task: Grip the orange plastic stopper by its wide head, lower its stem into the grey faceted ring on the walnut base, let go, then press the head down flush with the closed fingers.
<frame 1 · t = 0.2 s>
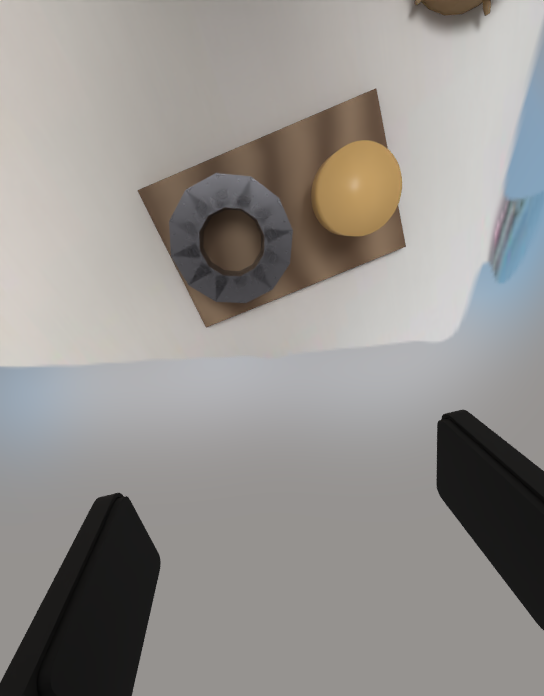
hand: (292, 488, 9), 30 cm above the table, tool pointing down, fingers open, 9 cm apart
mount: (280, 220, 35), on the table
grey faceted ring: (232, 240, 35), resting on mount
cap: (336, 197, 33), point 1 cm above the table, touching mount
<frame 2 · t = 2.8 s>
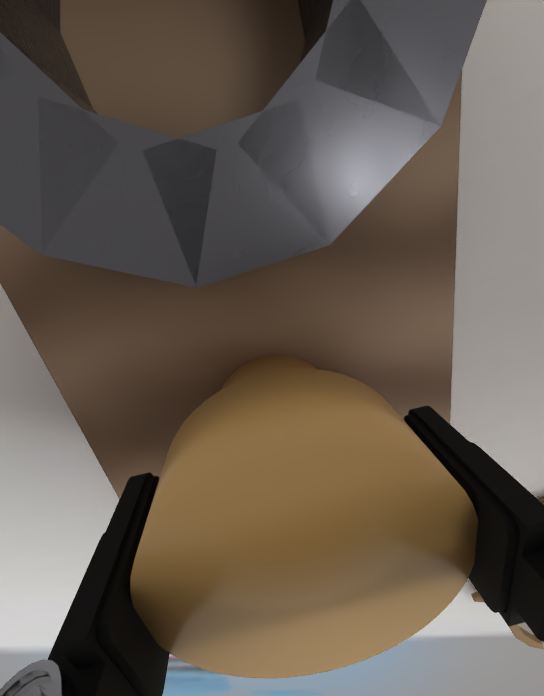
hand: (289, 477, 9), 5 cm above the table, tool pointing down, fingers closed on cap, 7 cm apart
mount: (239, 253, 12), on the table
grey faceted ring: (192, 59, 9), resting on mount
cap: (275, 407, 13), point 1 cm above the table, touching gripper, mount
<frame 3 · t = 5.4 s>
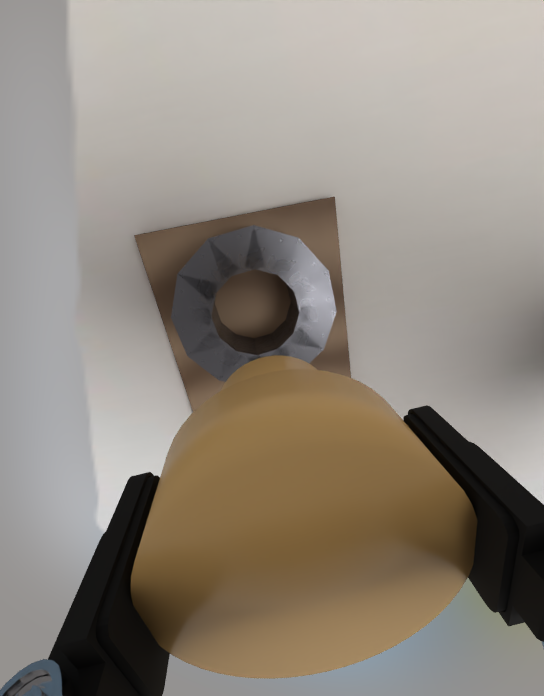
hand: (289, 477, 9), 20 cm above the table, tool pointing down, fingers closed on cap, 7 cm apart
mount: (265, 358, 30), on the table
grey faceted ring: (252, 299, 27), resting on mount
cap: (275, 408, 13), point 16 cm above the table, touching gripper
when the fingers open (6 cm above the table, at t = 7.9 s): cap stays where it is, resting on grey faceted ring, mount.
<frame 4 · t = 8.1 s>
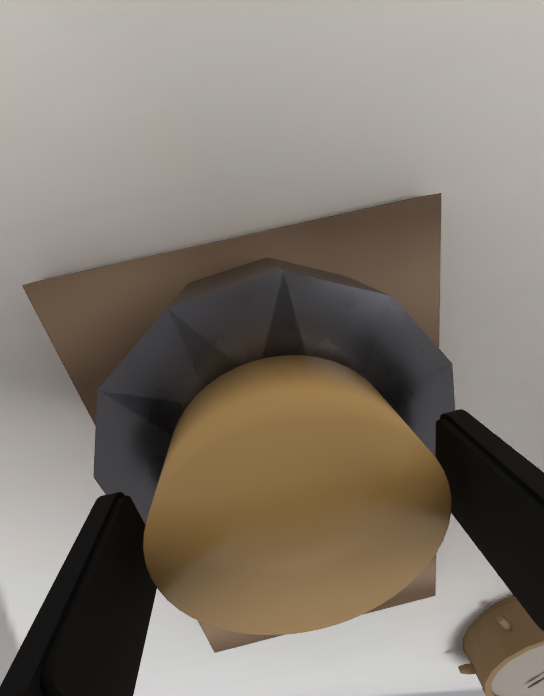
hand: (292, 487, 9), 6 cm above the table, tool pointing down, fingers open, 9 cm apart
mount: (291, 473, 17), on the table
grey faceted ring: (269, 384, 15), resting on mount
alarm clock: (532, 620, 28), on the table
cap: (272, 397, 14), point 1 cm above the table, touching grey faceted ring, mount
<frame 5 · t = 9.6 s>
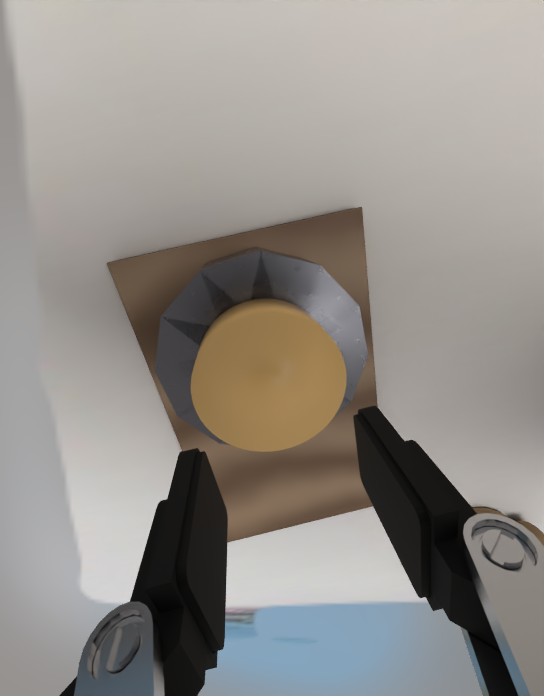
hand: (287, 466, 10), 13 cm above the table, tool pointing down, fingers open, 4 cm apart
mount: (274, 401, 24), on the table
grey faceted ring: (258, 334, 22), resting on mount
alarm clock: (471, 539, 35), on the table
cap: (260, 339, 21), point 1 cm above the table, touching grey faceted ring, mount
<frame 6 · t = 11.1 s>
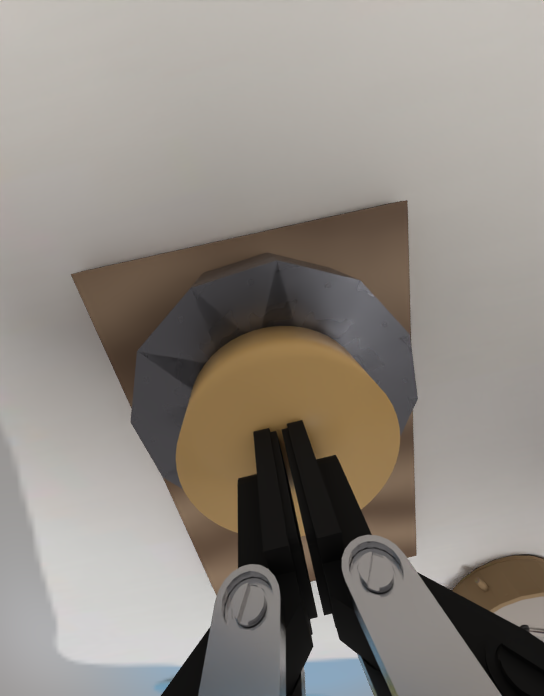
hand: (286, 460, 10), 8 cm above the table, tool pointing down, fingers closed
mount: (287, 440, 20), on the table
grey faceted ring: (268, 360, 18), resting on mount
alarm clock: (511, 588, 30), on the table
cap: (270, 369, 17), point 1 cm above the table, touching grey faceted ring, gripper, mount
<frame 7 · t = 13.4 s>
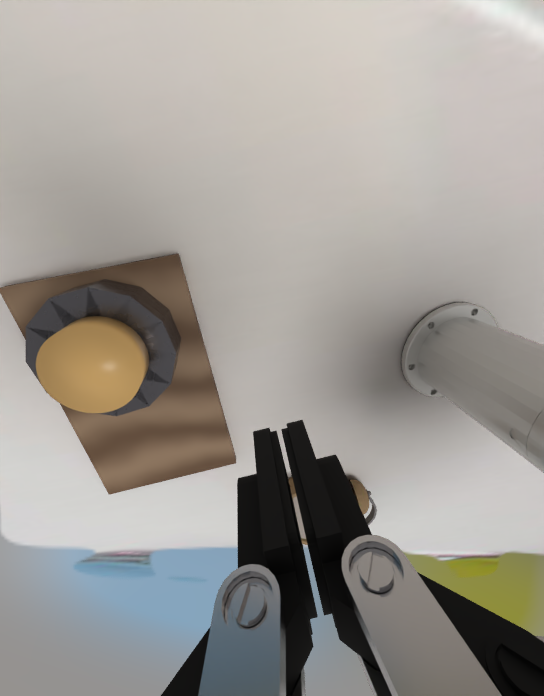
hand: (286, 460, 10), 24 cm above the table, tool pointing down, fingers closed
mount: (140, 385, 34), on the table
grey faceted ring: (121, 337, 31), resting on mount
alarm clock: (321, 495, 46), on the table
cap: (117, 341, 30), point 1 cm above the table, touching grey faceted ring, mount
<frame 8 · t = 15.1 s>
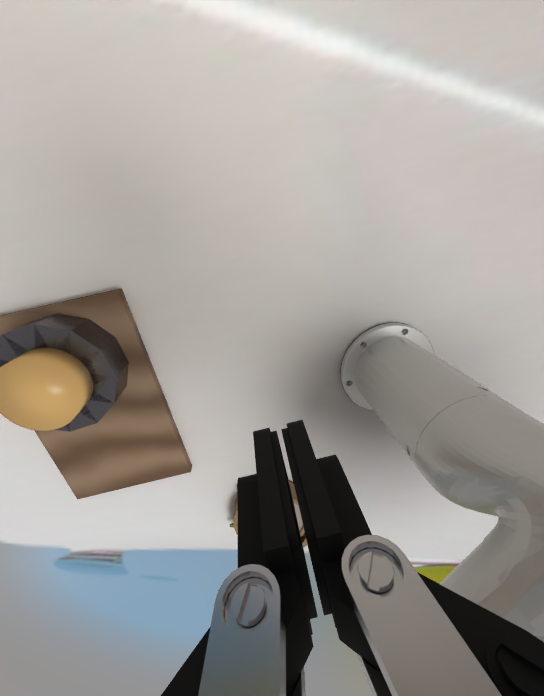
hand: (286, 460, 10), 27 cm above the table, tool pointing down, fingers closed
mount: (99, 403, 38), on the table
grey faceted ring: (77, 361, 36), resting on mount
alarm clock: (280, 502, 48), on the table
cap: (73, 365, 35), point 1 cm above the table, touching grey faceted ring, mount
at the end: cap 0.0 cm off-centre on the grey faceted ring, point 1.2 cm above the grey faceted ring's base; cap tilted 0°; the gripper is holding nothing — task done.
